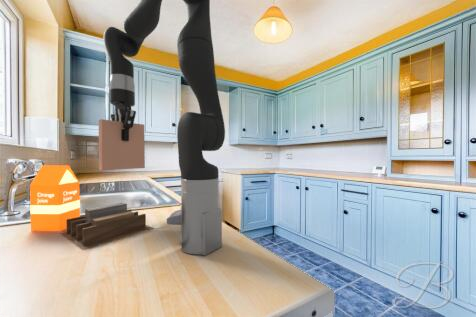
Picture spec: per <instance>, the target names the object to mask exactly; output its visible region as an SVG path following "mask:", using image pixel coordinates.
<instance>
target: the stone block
mask: <svg viewBox="0 0 476 317" xmlns="http://www.w3.org/2000/svg"><path fill="white" fill-rule="evenodd" d="M166 224H168V225H181V209H179V210H175V211H174V212H173V213H171V214H170V215H169V216H168V217H167V218H166Z"/></svg>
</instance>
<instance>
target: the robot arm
mask: <svg viewBox="0 0 476 317" xmlns="http://www.w3.org/2000/svg"><path fill="white" fill-rule="evenodd" d="M182 1H183V2H184V3H185V6H186V9H187V22H186V24H185V25H184V26H183V28H182V29H181V31H180V32H179V34H178V36H177V42H176V43H177V45H176V46H177V57H178V64H179V68H180V72H181V73H182V76H183V77H184V79H185V81H186V82H187V84H188V86H189V88H190V89H191V90H192V92H193V94H194V96H195V98H196V101H197V103H198V106H199V111H200V113H199V112H194V111H190V112H189V111H188V112H184V113H183V114H182V115H181V116H180V118H179V121H178V123H177V128H176V129H177V132H176V133H177V137H176V139H177V149H178V150H177V152H178V153H177V154H178V166H179V170H180V198H181V199H180V202H181V203H180V205H181V206H180V210H181V224H180V225H181V226H180V227H181V228H180V232H181V250H182V252H183V253H186V254H190V255H202V256H207V255H208V254H210V253H212V252H214V251H216V250H217V249H219V248H222V246H223V233H222V232H223V221H222V220H223V215H222V214H223V209H222V208H220V205H219V202H220V201H219V196H220V193H219V188H220V187H219V186H220V185H219V183H220V182H219V180H220V178H219V176H220V175H219V168H218V166H217V165H214V164H212V163H210V162H208V161H207V160H206V159H205V157H204V155H203V152H214V151H215V152H216V151H219V150H220V149H221V147H223V145H224V142H225V138H226V137H225V136H226V129H225V121H224V115H223V111H222V108H221V107H222V105H221V103H220V102H221V101H220V97H219V92H218V91H219V90H218V84H217V76H216V67H215V65H216V64H215V53H214V52H215V51H214V46H213V45H214V44H213V37H212V27H211V12H210V11H211V10H210V2H211V1H210V0H182ZM162 2H163V0H141V1H140V2H139V3H138V4H137V6H136V7H134V9H133V10H132V11H131V13H129V15H128V16H127V17H126V18H125V19H124V21H123V23H122V26H123V29H124V31H122V30H121V29H119V28H118V27H114V26H109V27H107V28H106V29H105V31H104V33H103V43H104V48H105V50H106V54H107V57H108V60H109V64H110V67H109V68H110V69H109V72H110V77H109V102H110V104H111V105H113V106H114V111H113V114H110V118H111V121H119V122H120V123H121V129H122V130H121V139H122V141H129V130H130V128H132V127H133V123H135V118H136V115H137V110H133V109H132V107H135V105H136V102H135V101H136V100H135V99H136V97H135V96H136V86H135V77H134V76H135V75H134V71H135V68H134V64H133V63H132V62H131V61H130V59H128V58H133V57H136V56H137V55H138V54H139V52H140V49H141V47H142V45H143V43H144V41H145V39H146V38H148V36H150V35H151V34H152V33H153V32H154V31H155V30H156V28H157V26H158V24H159V22H160V16H161V7H162ZM126 57H128V58H126Z"/></svg>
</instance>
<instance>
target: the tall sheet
mask: <svg viewBox="0 0 476 317" xmlns="http://www.w3.org/2000/svg"><path fill="white" fill-rule="evenodd" d="M121 130H122V129H121V123H120V122H119V121H112V119H111V120H110V119H98V170H99V171H111V170H112V171H113V170H131V169H145V167H146V166H145V164H146V161H145V159H146V158H145V157H146V156H145V155H146V154H145V150H146V148H145V124H142V123H135V122H134V123H133V127H132V128H130V130H129V141H122V139H121Z"/></svg>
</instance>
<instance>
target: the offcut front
mask: <svg viewBox="0 0 476 317" xmlns="http://www.w3.org/2000/svg"><path fill="white" fill-rule="evenodd" d="M134 212H135V211H132V210H131V211H126V212H122V213H117V214H112V215H108V216H103V217H98V218H94V219H91V226H95V225H100V224H104V223H108V222H112V221H116V220H120V219H125V218H129V217H133V216H134Z"/></svg>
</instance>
